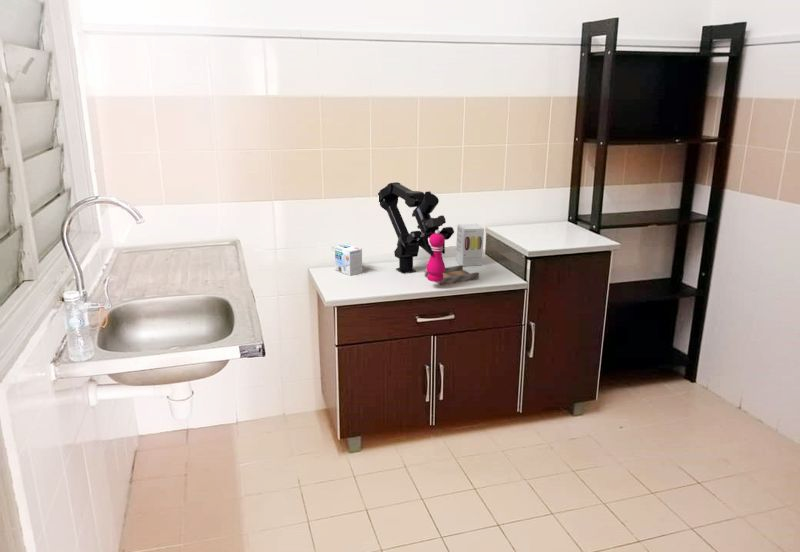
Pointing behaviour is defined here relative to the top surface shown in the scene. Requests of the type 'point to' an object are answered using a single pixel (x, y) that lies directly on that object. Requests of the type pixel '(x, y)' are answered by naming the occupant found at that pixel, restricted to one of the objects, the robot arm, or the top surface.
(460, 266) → the track board
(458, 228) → the supplement box
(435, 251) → the pepper mill
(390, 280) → the top surface
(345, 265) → the light bulb box
